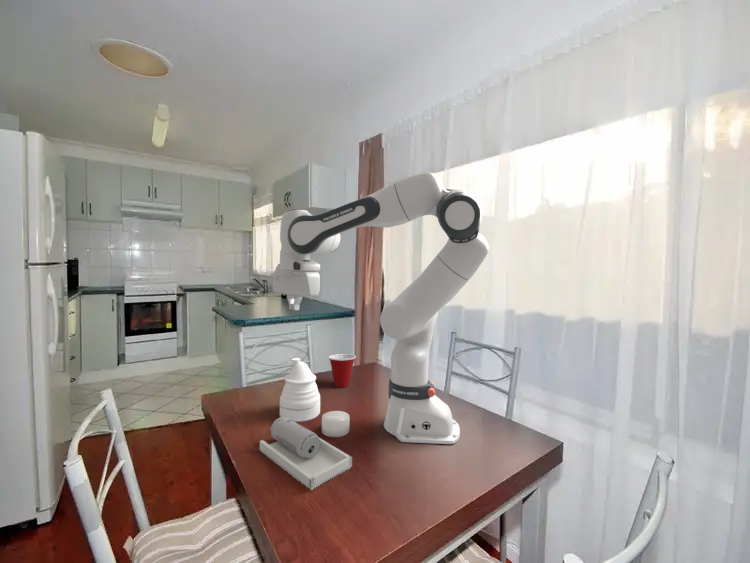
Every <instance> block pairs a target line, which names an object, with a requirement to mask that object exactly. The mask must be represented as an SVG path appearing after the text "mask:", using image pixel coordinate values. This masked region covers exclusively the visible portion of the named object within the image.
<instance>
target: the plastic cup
mask: <svg viewBox="0 0 750 563" xmlns="http://www.w3.org/2000/svg"><path fill="white" fill-rule="evenodd" d="M356 357H357V356H356V355H355V354H351V353H336V354H332V355H331V354H330V355H329V356H328V359H329V362H330V367H331V373H332V379H333V385H334V387H335V388H338V389H339V388H340V389H345V388H348V387H349V386H350V382H351V378H352V372H353V368H354V364H355V363H354V362H355V359H356Z"/></svg>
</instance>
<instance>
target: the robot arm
mask: <svg viewBox="0 0 750 563" xmlns="http://www.w3.org/2000/svg"><path fill="white" fill-rule="evenodd" d="M425 216H434V217H436V219H437V221H438V224H439V226H440V227H441V230H443V231H444V233H445V234H446V236H447V237H448V239H447V242H446V243H445V244H444V246H443V247H442V249H441V250H440V251H439V252H438V253H437V254H436V256H435V257H434V258H433V259H432V261H431V262H430V263H429V264H428V266H427V267H426V268H425V269H424V270H423V271H422V273H421V274H420V275H419V276H418V277H417V278H416V279H414V280H413V282H411V283H410V284H409V285H408V286H407V287H406V288H405V289H404V290H403V291H402V292H401V293H400V294H399V295H398V296H397V297H396V298H395V299H394V300H393V301H392V302H390V303H389V304H388V305H386V306H385V307H384V308H383V309H382V311H381V312H380V317H379V322H380V327H381V329H382V330H383V332H384V333H385V335H387V336H388V337H389V338H391V339H396V342H395V345H394V347H393V350H392V351H391V355H390V356H391V357H390V377H389V380H388V391H387V392H388V393H387V394H388V406H387V411H386V415H385V419H384V421H383V427H384V429H385V430H386V432H388V433H389V434H391V435H392V436H394V437H396V439H397V440H398V441H400V442H402V443H414V444H417V443H418V444H439V445H440V444H441V445H442V444H443V445H453V444H456V443H457V442H458V441H459V440H460V437H461V428H460V424H459V423H458V422H457V421H456V420H455V419H454V418H453V414H452V411H451V409H450V407H449V405H448V404H447V403H446V402H444V401H443V400H442V399H440V398H439V397H438V396H437V395H436V390H435V385H434V384H435V383H434V381H432V382H430V380H428V378H429V360H430V359H429V358H430V357H429V356H430V350H431V346H432V342H433V337H434V331H435V326H436V322H437V319H438V318H439V311H440V310H441V309H442V308H444V307H445V306H446V305H447V304H448V303H449V302H451V301H452V300H453V298H454V297H455V296H456V295H457V294H458V293H459V292H460V291H461V290H462V288H463V287H464V286H465V285H466V284H467V283H468V282H469V280H470V279H471V278H472V277H473V276H474V275H475V273H476V271H478V269H479V268H480V266H481V265H482V263H483V262H484V261H485V259H486V257H487V256H488V253H489V250H490V248H489V244H488V241H487V240H486V238H485V237H484V236H483V235H482V234H481V233H480V228H481V223H482V218H483V209H482V205H481V203H480V201H479V198H477V197H476V195H475V194H474V193H473V192H470V191H468V190H464V189H451V188H450V189H449V188H445V186H444V184H443V182H442V180H441V179H440V177H438V176H437V174H435V173H433V172H431V171H428V172H427V171H426V172H422V173H417V174H414V175H410V176H407V177H406V178H402V179H400V180H397V181H395V182H393V183H391V184H389V185H387V186H385V187H383V188H381V189H379V190H376V191H375V192H373V193H371V194H369V195H365V196H363V197H362V198H359V199H356V200H355V201H354V200H353V201H352V202H348V203H346V204H344V205H342V206H339V207H336V208H333V209H331V210H328V211H325V212H323V213H321V214H318V215H317V214H316V215H313V214H311V212H309V211H308V210H306V209H303V208H302V209H301V208H297V209H296V208H295V209H290V210H287V211H285V212H284V213H283V214H282V217H281V221H280V229H279V230H280V232H279V240H280V245H281V247H280V248H281V249H280V251H279V263H278V264H277V266H276V267H275V270H274V271H273V277H272V292H274V293H277V294H284V295H286V299H287V302H288V308H289V310H292V311H299V310H300V305H301V302H302V300H303V298H317V297H319V294H320V291H321V277H320V273H319V272H320V270H321V264H320V263H318V262H317V261H315V260H313V259H312V258H311V254H316V255H317V254H318V255H327V254H331V253H334V252H335V251H337V250H338V248H339V247H340V244H341V241H342V240H341V239H342V235H341V234H342V233H344V232H348V231H350V230H352V229H355V228H361V227H374V228H376V227H377V228H391V227H397V226H400V225H403V224H406V223H410V222H411V221H414V220H415V219H418V218H421V217H425Z"/></svg>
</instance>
